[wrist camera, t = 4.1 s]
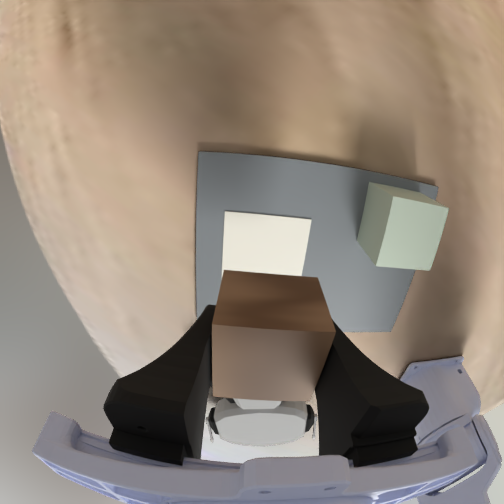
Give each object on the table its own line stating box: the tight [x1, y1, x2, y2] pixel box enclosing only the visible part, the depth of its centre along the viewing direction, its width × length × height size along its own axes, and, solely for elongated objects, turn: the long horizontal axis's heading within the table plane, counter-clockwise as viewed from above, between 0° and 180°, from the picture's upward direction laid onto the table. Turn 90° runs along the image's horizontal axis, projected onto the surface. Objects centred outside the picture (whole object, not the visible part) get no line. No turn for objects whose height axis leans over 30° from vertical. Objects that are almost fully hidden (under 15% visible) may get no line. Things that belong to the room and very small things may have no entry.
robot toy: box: [206, 380, 317, 446], centre depth 26 cm, size 12×4×15 cm
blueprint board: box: [196, 151, 438, 332], centre depth 21 cm, size 18×14×1 cm
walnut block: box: [212, 270, 336, 401], centre depth 12 cm, size 4×4×4 cm
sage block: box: [357, 182, 449, 271], centre depth 17 cm, size 4×4×4 cm
